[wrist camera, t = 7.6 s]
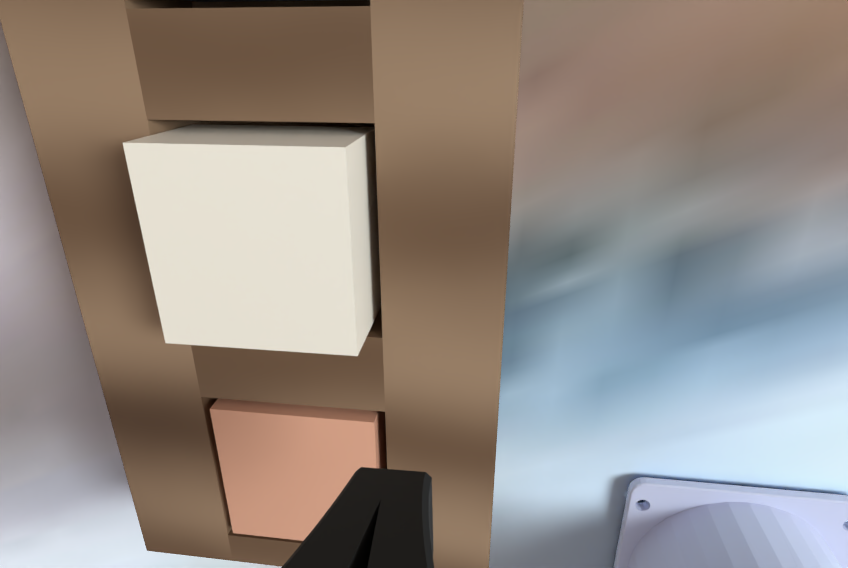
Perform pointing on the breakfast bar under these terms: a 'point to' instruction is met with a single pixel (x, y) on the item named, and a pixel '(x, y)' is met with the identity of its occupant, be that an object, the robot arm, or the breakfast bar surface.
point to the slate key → (249, 0)
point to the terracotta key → (291, 461)
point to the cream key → (261, 234)
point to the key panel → (397, 222)
